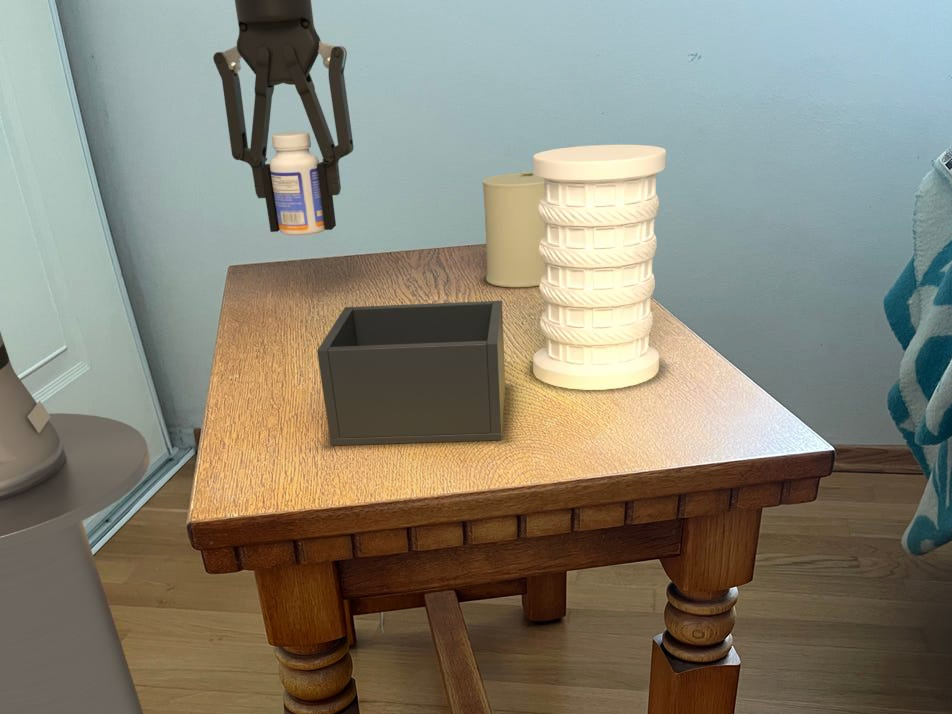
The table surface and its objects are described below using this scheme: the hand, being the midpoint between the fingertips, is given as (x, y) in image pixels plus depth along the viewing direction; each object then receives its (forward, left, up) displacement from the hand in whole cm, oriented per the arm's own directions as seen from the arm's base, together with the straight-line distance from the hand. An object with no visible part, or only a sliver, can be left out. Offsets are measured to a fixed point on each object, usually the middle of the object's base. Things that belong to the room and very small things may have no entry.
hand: (303, 228), depth 105 cm
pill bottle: (0, 0, -1) cm, 1 cm away
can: (+24, +12, -9) cm, 29 cm away
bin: (+16, -36, -9) cm, 40 cm away
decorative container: (+31, -25, -9) cm, 41 cm away
